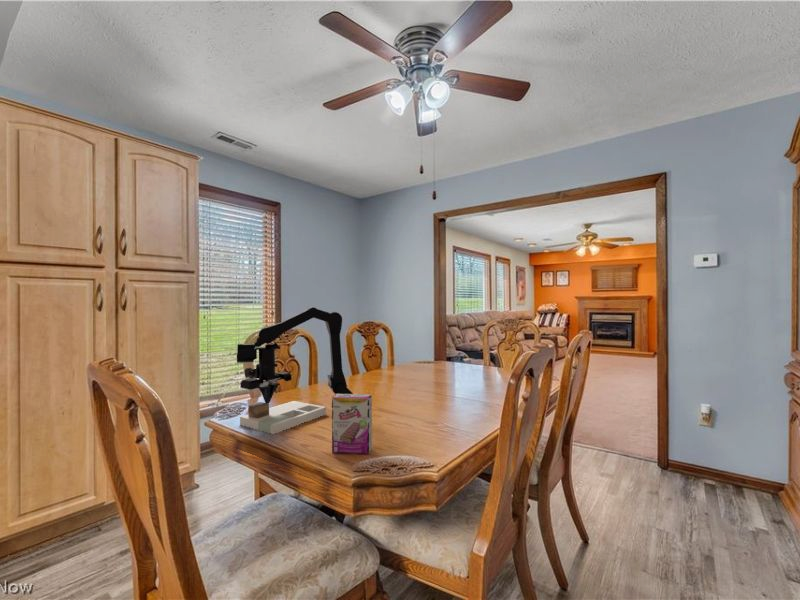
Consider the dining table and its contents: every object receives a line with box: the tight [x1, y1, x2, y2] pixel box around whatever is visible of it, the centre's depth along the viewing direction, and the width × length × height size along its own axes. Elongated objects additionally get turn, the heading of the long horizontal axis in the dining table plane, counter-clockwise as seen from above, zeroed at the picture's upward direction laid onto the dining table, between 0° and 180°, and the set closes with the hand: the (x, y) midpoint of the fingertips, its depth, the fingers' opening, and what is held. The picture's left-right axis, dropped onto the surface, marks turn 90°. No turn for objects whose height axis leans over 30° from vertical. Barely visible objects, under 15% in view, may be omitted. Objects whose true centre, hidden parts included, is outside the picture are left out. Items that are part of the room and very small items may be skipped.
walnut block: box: [247, 401, 270, 418], centre depth 138 cm, size 5×5×4 cm
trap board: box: [239, 400, 327, 435], centre depth 142 cm, size 18×25×3 cm
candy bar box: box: [331, 393, 373, 455], centre depth 112 cm, size 11×5×16 cm, turn 84°
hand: (267, 403), depth 141 cm, fingers closed
